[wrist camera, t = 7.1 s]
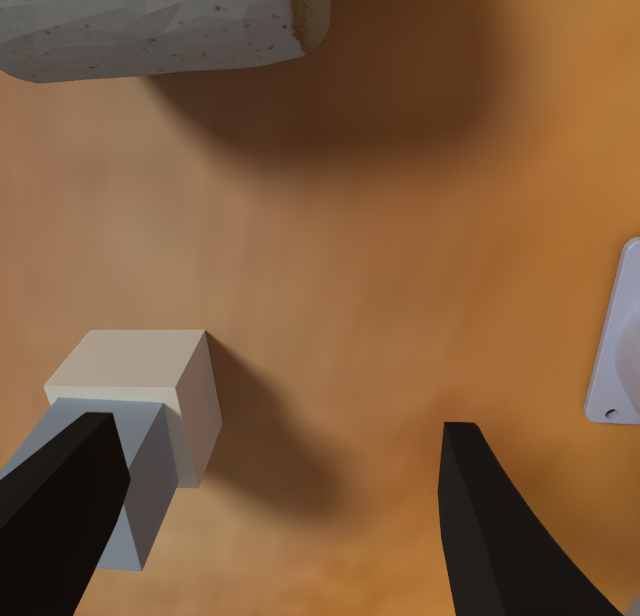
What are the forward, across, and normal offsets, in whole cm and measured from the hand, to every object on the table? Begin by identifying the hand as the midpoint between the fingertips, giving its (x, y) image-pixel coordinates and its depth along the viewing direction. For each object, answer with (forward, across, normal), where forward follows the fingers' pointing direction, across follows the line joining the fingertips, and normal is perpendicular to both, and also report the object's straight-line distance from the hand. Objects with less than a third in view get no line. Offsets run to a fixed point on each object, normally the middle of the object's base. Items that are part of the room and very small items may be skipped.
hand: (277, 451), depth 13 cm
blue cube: (+7, +8, +6) cm, 12 cm away
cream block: (+11, +7, +6) cm, 14 cm away
